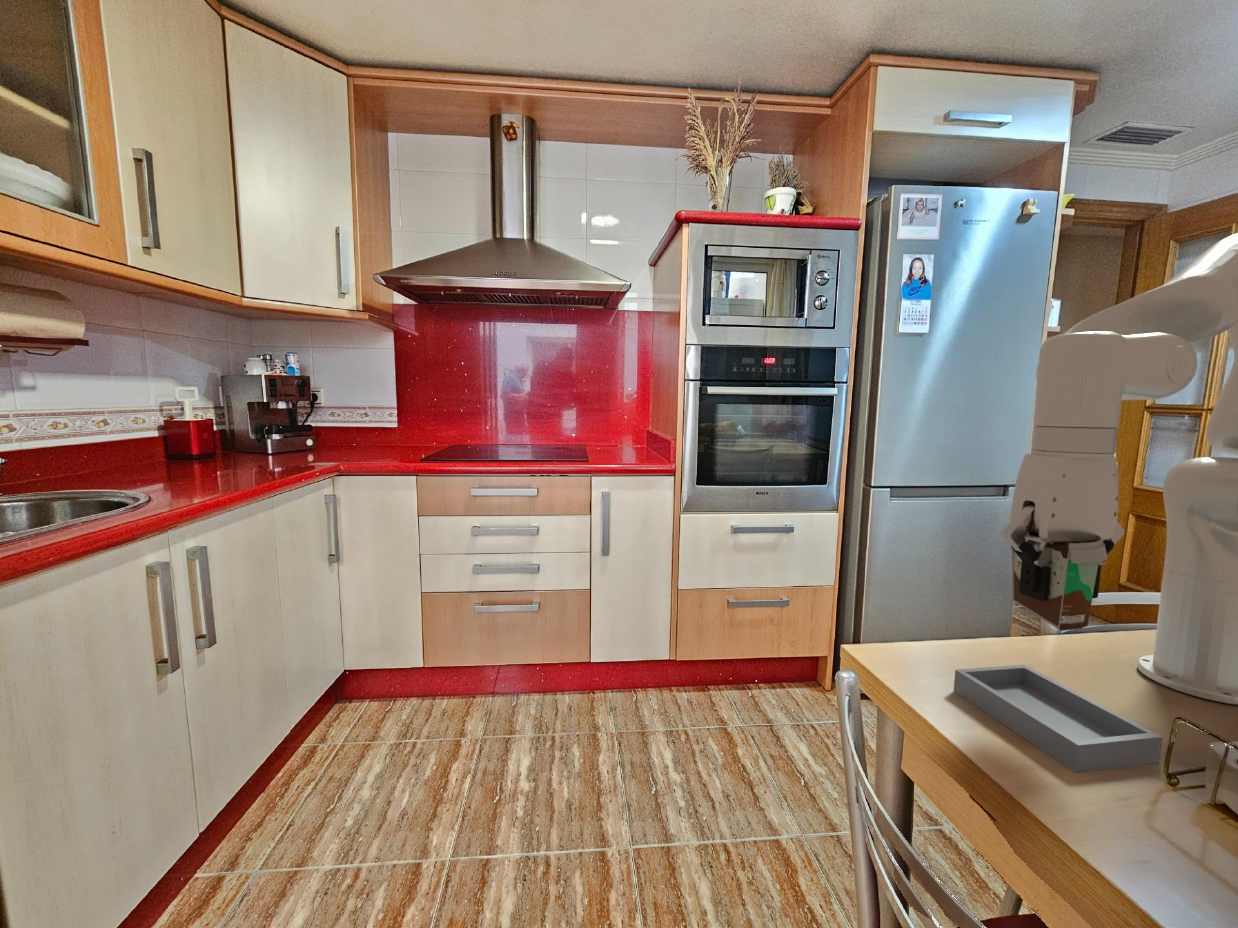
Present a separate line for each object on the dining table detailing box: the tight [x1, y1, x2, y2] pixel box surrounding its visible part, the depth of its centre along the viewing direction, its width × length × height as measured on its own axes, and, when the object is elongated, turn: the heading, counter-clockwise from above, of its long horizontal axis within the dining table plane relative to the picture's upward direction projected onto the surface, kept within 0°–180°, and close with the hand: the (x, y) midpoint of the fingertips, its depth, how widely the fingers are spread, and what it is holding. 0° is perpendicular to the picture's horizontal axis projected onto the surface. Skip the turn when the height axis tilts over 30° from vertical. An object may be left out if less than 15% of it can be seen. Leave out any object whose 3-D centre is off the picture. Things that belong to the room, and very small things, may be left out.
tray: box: [953, 664, 1163, 773], centre depth 66 cm, size 11×17×3 cm, turn 9°
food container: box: [1011, 535, 1108, 631], centre depth 64 cm, size 12×6×10 cm, turn 171°
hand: (1057, 594), depth 64 cm, fingers closed on food container, 6 cm apart
